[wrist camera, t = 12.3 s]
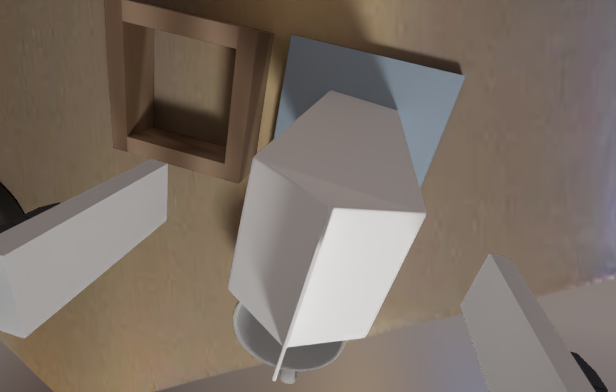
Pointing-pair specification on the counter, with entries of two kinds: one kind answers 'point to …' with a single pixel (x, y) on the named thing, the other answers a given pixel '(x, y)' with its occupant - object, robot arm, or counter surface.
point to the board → (371, 91)
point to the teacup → (269, 348)
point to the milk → (326, 223)
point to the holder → (140, 88)
